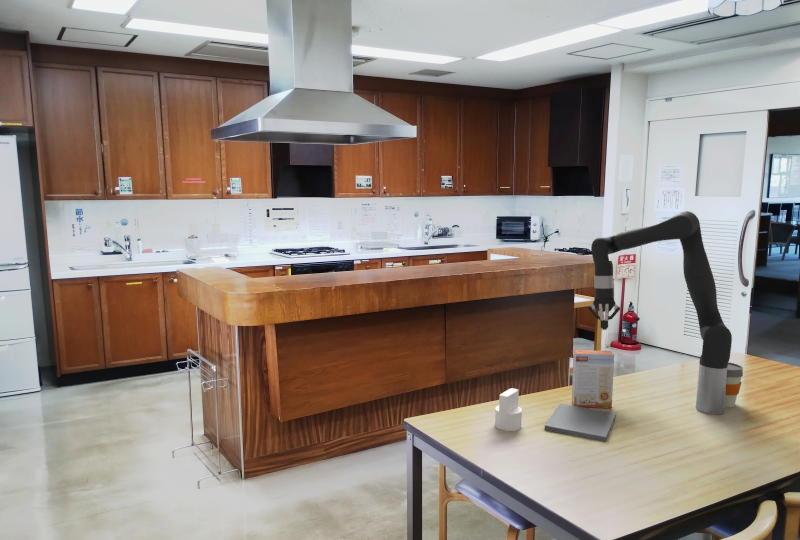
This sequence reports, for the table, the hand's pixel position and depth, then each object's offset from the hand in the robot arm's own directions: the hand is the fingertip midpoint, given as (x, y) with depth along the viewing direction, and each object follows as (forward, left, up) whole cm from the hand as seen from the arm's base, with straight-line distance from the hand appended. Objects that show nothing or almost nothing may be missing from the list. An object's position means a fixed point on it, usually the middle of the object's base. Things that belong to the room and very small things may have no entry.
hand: (604, 329), depth 238 cm
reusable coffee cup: (-43, -5, -25) cm, 51 cm away
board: (+1, +40, -25) cm, 48 cm away
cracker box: (+1, +21, -25) cm, 33 cm away
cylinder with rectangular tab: (+23, +55, -25) cm, 64 cm away
